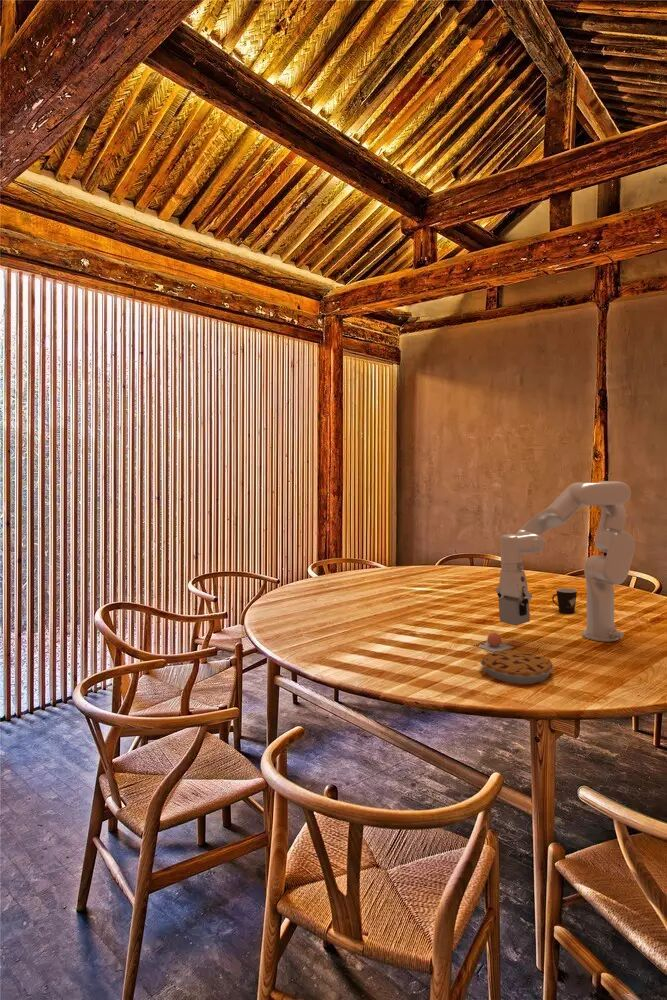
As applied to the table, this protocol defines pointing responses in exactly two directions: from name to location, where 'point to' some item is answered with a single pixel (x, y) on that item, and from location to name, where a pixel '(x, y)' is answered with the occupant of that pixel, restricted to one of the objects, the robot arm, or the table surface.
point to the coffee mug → (566, 600)
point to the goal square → (493, 649)
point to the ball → (494, 639)
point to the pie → (517, 666)
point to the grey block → (512, 611)
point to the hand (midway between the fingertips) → (514, 612)
